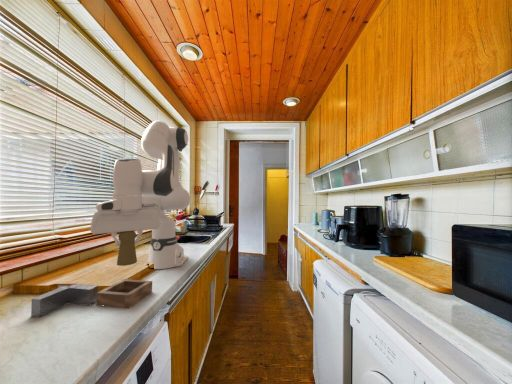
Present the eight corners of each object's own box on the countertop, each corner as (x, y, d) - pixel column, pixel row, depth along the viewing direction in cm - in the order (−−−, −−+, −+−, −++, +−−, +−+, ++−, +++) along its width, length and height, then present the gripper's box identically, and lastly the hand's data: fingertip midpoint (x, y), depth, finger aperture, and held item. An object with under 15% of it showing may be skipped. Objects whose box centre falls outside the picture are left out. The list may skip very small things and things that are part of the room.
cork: (128, 266, 70) (128, 232, 70) (112, 265, 71) (112, 232, 71) (141, 260, 76) (141, 229, 76) (125, 259, 77) (126, 229, 77)
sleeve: (123, 290, 80) (123, 279, 80) (151, 292, 78) (152, 281, 78) (96, 305, 68) (96, 292, 68) (128, 308, 66) (128, 295, 67)
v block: (36, 307, 67) (36, 290, 67) (97, 293, 76) (98, 279, 76) (29, 319, 60) (29, 301, 60) (97, 303, 69) (98, 287, 70)
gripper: (158, 203, 83) (157, 239, 82) (91, 204, 70) (90, 246, 70) (161, 203, 77) (161, 242, 77) (90, 205, 65) (90, 250, 65)
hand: (127, 244), depth 74 cm, fingers closed on cork, 4 cm apart
